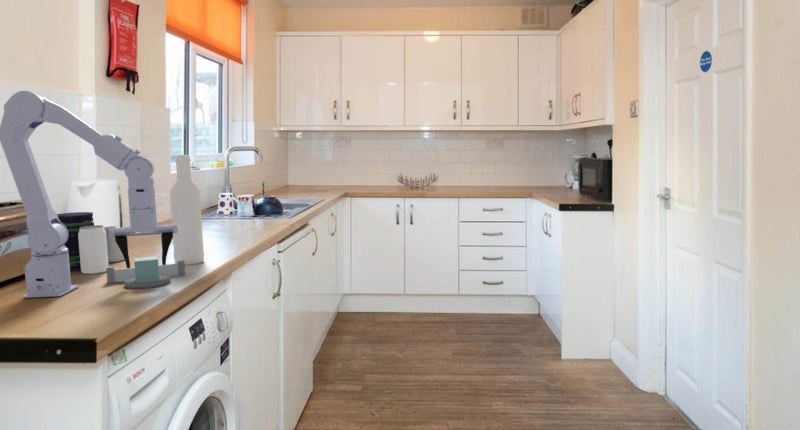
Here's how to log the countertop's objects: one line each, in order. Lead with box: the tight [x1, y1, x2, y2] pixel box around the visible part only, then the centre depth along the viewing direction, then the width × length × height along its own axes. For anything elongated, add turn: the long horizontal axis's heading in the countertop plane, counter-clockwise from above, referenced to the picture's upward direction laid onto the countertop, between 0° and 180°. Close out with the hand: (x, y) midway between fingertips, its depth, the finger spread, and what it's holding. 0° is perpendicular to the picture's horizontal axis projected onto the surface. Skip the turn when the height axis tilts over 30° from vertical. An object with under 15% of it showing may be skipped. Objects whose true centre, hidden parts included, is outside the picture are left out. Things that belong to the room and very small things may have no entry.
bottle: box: [169, 154, 205, 266], centre depth 168 cm, size 8×8×30 cm
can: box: [78, 224, 109, 275], centre depth 158 cm, size 6×6×12 cm
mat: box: [123, 275, 172, 290], centre depth 142 cm, size 10×10×1 cm
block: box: [133, 255, 159, 283], centre depth 142 cm, size 5×5×5 cm
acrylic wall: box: [106, 260, 186, 284], centre depth 148 cm, size 18×2×4 cm, turn 114°
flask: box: [103, 225, 125, 263], centre depth 175 cm, size 7×7×10 cm
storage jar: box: [56, 211, 95, 273], centre depth 163 cm, size 10×10×15 cm
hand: (146, 266), depth 141 cm, fingers open, 7 cm apart
